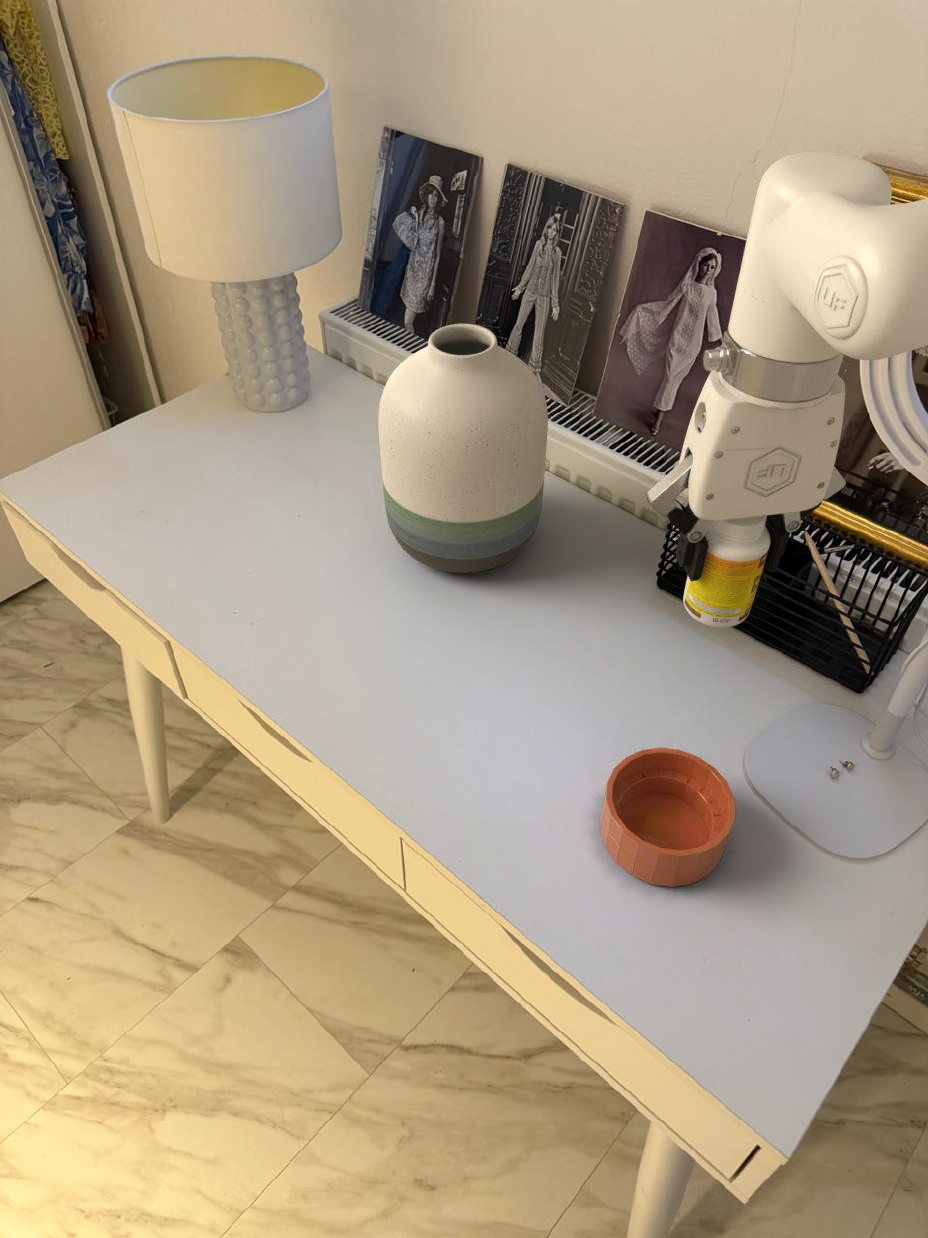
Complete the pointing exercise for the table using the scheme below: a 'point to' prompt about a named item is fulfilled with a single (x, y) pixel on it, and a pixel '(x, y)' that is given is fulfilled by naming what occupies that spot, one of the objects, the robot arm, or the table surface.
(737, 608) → the supplement bottle
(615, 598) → the table surface
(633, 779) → the bowl
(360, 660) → the table surface
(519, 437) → the vase
